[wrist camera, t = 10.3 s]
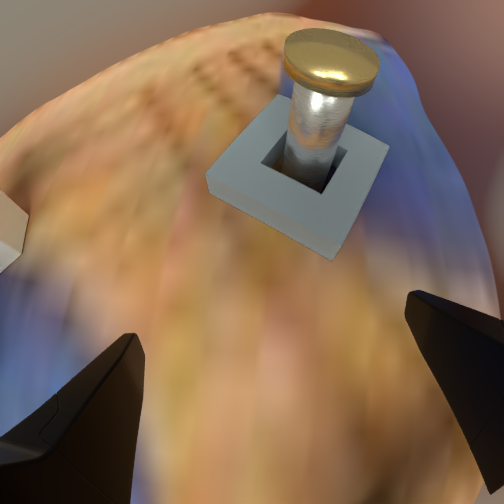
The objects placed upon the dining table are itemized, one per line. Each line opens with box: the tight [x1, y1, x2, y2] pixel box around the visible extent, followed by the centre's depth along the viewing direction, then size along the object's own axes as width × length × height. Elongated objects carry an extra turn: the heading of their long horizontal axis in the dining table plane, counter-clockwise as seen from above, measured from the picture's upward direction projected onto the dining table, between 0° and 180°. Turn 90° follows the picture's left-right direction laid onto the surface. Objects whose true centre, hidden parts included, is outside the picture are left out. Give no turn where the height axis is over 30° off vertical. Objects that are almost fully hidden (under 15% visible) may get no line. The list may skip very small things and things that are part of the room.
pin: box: [281, 28, 380, 193], centre depth 21 cm, size 6×6×14 cm
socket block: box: [205, 94, 390, 261], centre depth 26 cm, size 12×12×3 cm
